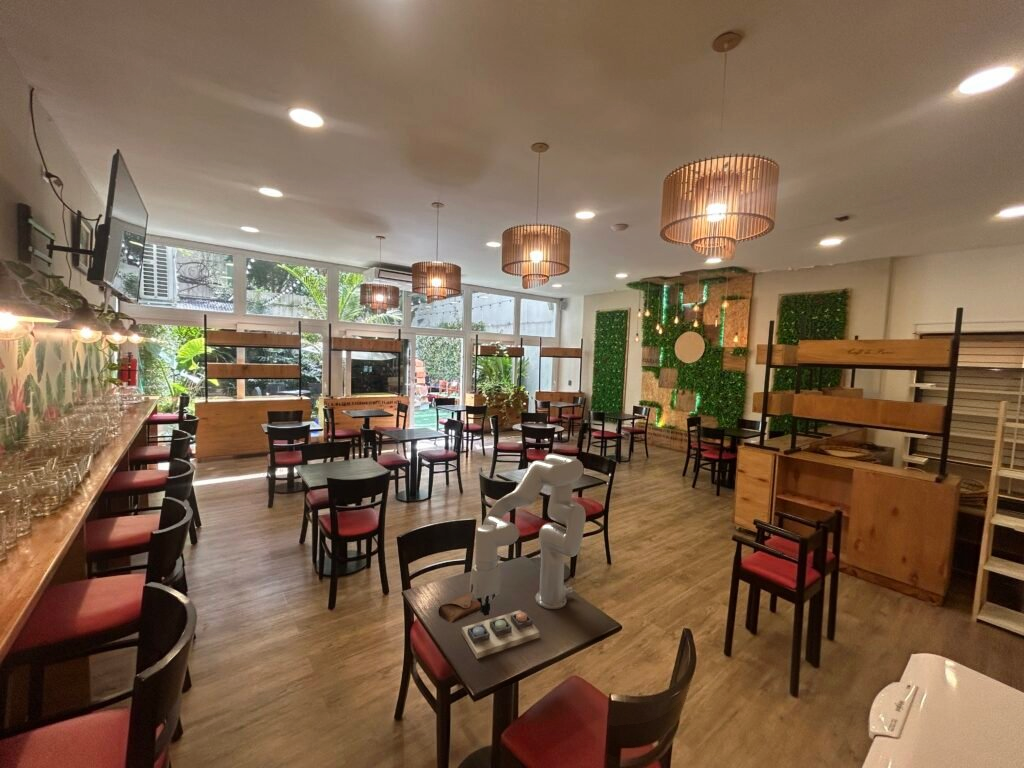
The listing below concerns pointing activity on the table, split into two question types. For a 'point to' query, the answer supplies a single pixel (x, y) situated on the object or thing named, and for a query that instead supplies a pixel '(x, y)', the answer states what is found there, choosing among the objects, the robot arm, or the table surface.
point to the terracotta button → (521, 617)
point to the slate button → (478, 631)
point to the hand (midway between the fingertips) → (485, 613)
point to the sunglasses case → (458, 608)
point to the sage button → (500, 624)
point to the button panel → (499, 634)
